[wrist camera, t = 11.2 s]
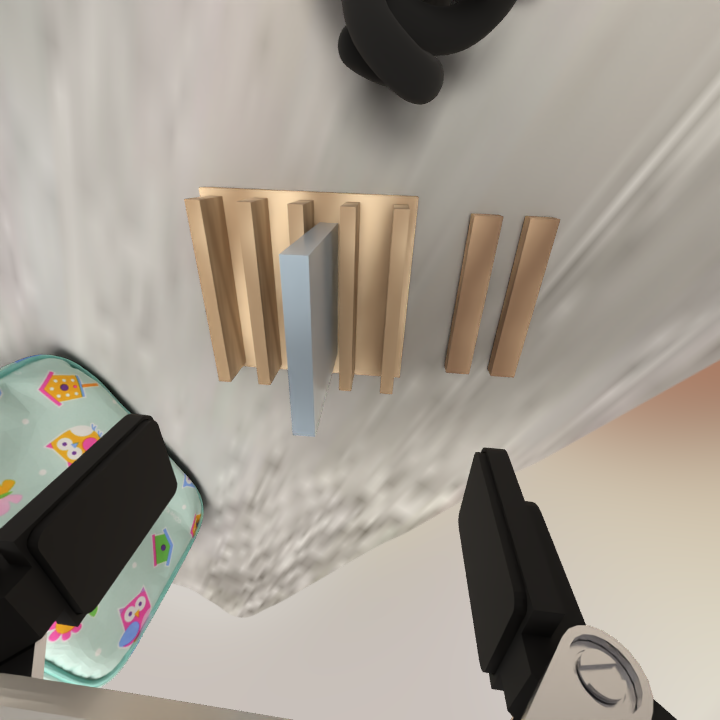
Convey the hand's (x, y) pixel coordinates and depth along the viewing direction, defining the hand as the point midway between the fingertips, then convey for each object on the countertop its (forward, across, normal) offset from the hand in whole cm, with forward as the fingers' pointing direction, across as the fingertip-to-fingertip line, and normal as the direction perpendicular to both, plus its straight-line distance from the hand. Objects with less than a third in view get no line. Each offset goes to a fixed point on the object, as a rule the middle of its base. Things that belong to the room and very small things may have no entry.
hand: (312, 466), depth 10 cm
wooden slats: (+21, -10, +2) cm, 24 cm away
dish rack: (+21, +5, +2) cm, 21 cm away
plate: (+20, +3, +2) cm, 20 cm away
